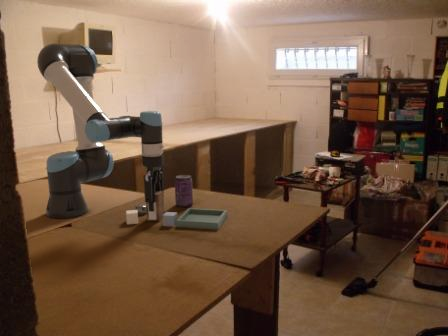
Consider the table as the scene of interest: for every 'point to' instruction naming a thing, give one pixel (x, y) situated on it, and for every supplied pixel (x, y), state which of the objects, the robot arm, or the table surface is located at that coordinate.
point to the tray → (202, 218)
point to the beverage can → (183, 190)
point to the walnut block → (157, 206)
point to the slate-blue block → (170, 219)
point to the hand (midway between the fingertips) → (155, 216)
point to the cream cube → (132, 216)
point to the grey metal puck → (141, 209)
